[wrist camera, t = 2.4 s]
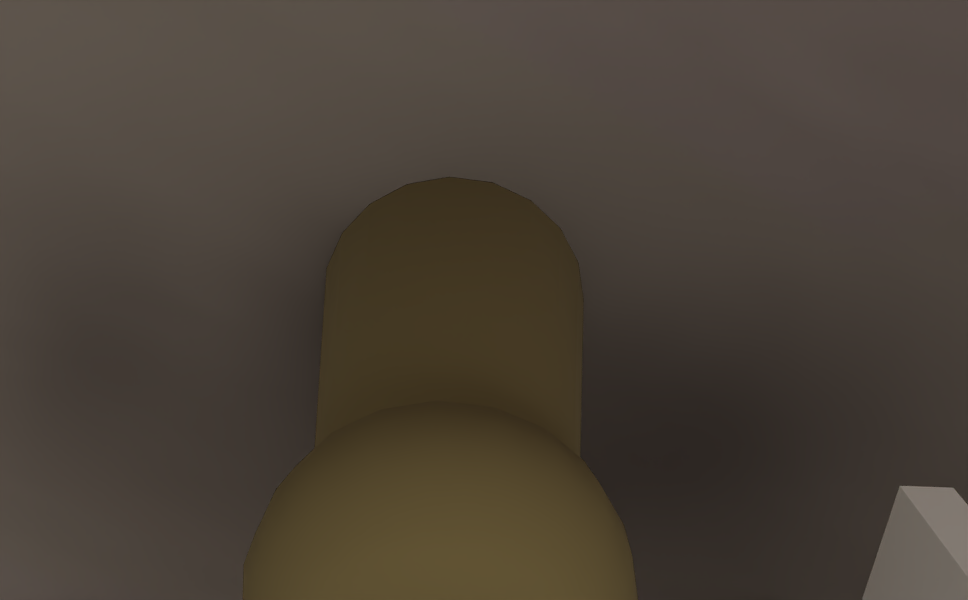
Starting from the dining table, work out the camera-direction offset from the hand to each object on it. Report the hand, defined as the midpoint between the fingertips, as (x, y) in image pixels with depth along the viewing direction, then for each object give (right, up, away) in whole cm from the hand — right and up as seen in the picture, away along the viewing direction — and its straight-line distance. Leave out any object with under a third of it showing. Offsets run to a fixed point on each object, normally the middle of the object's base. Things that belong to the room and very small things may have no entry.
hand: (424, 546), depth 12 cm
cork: (0, +3, +8) cm, 9 cm away
